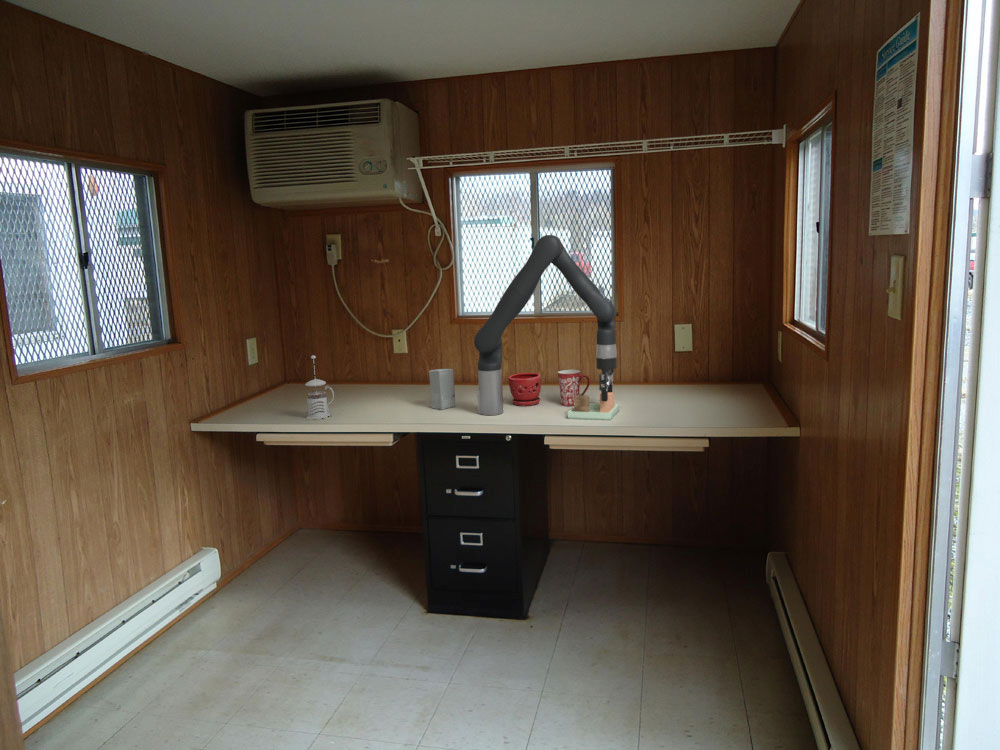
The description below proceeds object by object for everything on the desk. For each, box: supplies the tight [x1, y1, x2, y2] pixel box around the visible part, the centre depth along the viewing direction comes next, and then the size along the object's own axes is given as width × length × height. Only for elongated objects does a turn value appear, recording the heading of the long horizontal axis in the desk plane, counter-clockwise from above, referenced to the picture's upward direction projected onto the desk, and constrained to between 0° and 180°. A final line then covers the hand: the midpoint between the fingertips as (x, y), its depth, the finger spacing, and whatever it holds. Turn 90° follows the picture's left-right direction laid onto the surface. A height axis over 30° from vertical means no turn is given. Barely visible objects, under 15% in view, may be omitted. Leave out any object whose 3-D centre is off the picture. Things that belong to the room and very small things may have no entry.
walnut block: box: [574, 394, 590, 412], centre depth 270 cm, size 4×4×7 cm
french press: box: [305, 354, 335, 418], centre depth 290 cm, size 10×12×25 cm
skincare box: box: [428, 368, 456, 410], centre depth 298 cm, size 8×7×16 cm
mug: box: [557, 369, 591, 407], centre depth 291 cm, size 13×9×14 cm
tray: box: [567, 402, 620, 421], centre depth 272 cm, size 16×16×3 cm
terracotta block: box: [599, 391, 616, 413], centre depth 273 cm, size 4×4×7 cm
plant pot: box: [508, 372, 542, 407], centre depth 297 cm, size 13×13×12 cm
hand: (607, 398), depth 273 cm, fingers open, 8 cm apart
